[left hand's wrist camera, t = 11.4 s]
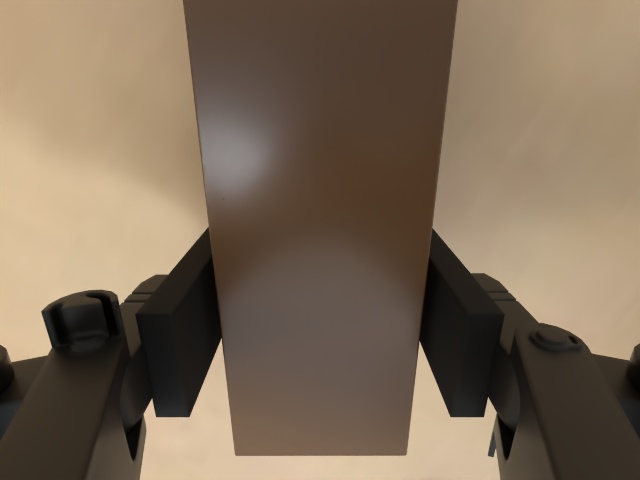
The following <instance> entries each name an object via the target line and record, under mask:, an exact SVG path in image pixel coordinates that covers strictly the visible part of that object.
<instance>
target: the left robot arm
mask: <svg viewBox="0 0 640 480" xmlns="http://www.w3.org/2000/svg"><path fill="white" fill-rule="evenodd" d="M41 312H42V316H43V319H44V322H45V325H46V328H47V332H48V335H49V338H50V341H51V345H52V349H51V351H50V352H49V354H48V355H47V356H43V357H37V358H32V359H27V360H22V361H16V362H11V361H10V358H9V355H8V352H7V350H6V348H4V347H3V346H1V345H0V480H140V472H141V465H142V458H143V451H144V444H145V437H146V424H145V419H144V412H145V410H146V408H147V406H148V405H149V403H150V401H151V399H153V404H154V409H155V414H156V417H190V414H191V412H192V409H193V407H194V404H195V402H196V400H197V397H198V395H199V392H200V390H201V387H202V385H203V382H204V380H205V377H206V375H207V372H208V370H209V367H210V365H211V362H212V360H213V358H214V355H215V353H216V350H217V348H218V345H219V343H220V340H221V338H222V336H221V327H220V319H219V310H218V301H217V292H216V284H215V275H214V266H213V258H212V249H211V240H210V231H209V227H208V228H207V229H206V231H205V232H204V233H203V234H202V235H201V237H200V238H199V239H198V240H197V241H196V243H195V244H194V245H193V246H192V247H191V248H190V250H189V251H188V252H187V253H186V254H185V256H184V257H183V258H182V259H181V260H180V261H179V263H178V264H177V265H176V266H175V267H174V269H173V270H172V271H171V272H170V273H169V275H155V276H153V277H151V278H149V279H147V280H145V281H144V282H142V283H141V284H140V285H139V286H138V287H137V288H136V289H135V290H134V291H133V292H132V294H130V295H129V296H128V297H127V298H126V299H125V300H124V303H122V304H121V305H120V306H119V301H118V297H117V295H116V294H115V293H113V292H112V291H106V290H88V291H83V292H78V293H74V294H71V295H68V296H65V297H62V298H60V299H58V300H56V301H54V302H53V303H51V304H49V305H48V306H47V307H46V308H44V309H43V310H42V311H41ZM420 343H421V345H422V348H423V350H424V353H425V355H426V358H427V360H428V362H429V365H430V367H431V370H432V372H433V375H434V377H435V380H436V382H437V385H438V387H439V390H440V392H441V395H442V397H443V399H444V402H445V404H446V407H447V409H448V412H449V414H450V417H484V414H485V409H486V404H487V399H488V397H489V399H490V401H491V403H492V404H493V406H494V408H495V410H496V412H497V414H496V419H495V423H494V428H493V433H492V437H491V442H490V446H489V452H488V456H491V457H494V452H495V449H496V450H497V457H498V464H499V471H500V479H501V480H640V344H638V345H637V346H635V347H634V350H633V352H632V355H631V358H630V361H628V360H623V359H617V358H612V357H607V356H601V355H596V354H592V353H591V352H590V350H589V348H588V347H587V345H586V344H585V343H584V342H583V341H582V340H581V339H580V338H578V337H577V336H575V335H574V334H572V333H571V332H569V331H566V330H564V329H561V328H559V327H556V326H552V325H548V324H544V323H538V322H537V321H536V320H535V319H534V317H533V316H532V315H531V314H530V313H529V312H528V311H527V310H526V309H525V308H524V307H523V306H522V305H521V304H520V303H519V302H518V301H516V299H515V298H514V297H513V296H512V295H511V293H508V290H507V289H506V288H505V287H504V286H503V285H502V284H501V283H500V282H499V281H497V280H495V279H493V278H492V277H490V276H488V275H486V274H484V273H470V272H469V271H468V270H467V269H466V267H465V266H464V265H463V264H462V263H461V261H460V260H459V259H458V258H457V257H456V256H455V254H454V253H453V252H452V251H451V250H450V248H449V247H448V246H447V245H446V244H445V242H444V241H443V240H442V239H441V238H440V237H439V235H438V234H437V233H436V232H435V231H434V229H433V228H432V234H431V242H430V251H429V260H428V269H427V278H426V287H425V296H424V305H423V313H422V322H421V331H420Z"/></svg>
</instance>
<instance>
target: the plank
mask: <svg viewBox="0 0 640 480" xmlns="http://www.w3.org/2000/svg"><path fill="white" fill-rule="evenodd" d="M457 3H458V0H183V4H184V13H185V22H186V30H187V39H188V48H189V57H190V65H191V74H192V83H193V92H194V100H195V109H196V118H197V126H198V135H199V144H200V153H201V161H202V170H203V179H204V188H205V196H206V205H207V214H208V223H209V231H210V240H211V249H212V258H213V266H214V275H215V284H216V292H217V301H218V310H219V319H220V327H221V336H222V345H223V354H224V362H225V371H226V380H227V389H228V397H229V406H230V415H231V424H232V432H233V441H234V450H235V455H236V456H399V455H406V454H407V446H408V438H409V429H410V420H411V411H412V402H413V393H414V384H415V375H416V367H417V358H418V349H419V340H420V331H421V322H422V313H423V305H424V296H425V287H426V278H427V269H428V260H429V251H430V242H431V234H432V225H433V216H434V207H435V198H436V189H437V180H438V172H439V163H440V154H441V145H442V136H443V127H444V118H445V110H446V101H447V92H448V83H449V74H450V65H451V56H452V47H453V39H454V30H455V21H456V12H457Z"/></svg>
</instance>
